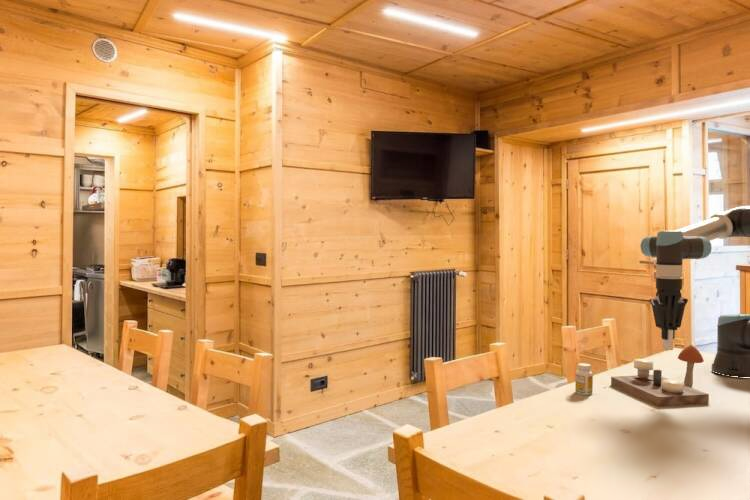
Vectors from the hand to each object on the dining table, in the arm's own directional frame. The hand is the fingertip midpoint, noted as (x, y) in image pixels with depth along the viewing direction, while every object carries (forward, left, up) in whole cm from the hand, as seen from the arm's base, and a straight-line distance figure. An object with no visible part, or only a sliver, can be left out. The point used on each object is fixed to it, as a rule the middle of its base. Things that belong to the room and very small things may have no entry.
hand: (667, 349), depth 175 cm
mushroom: (-17, -9, -16) cm, 25 cm away
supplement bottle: (+24, -9, -16) cm, 31 cm away
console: (0, -4, -16) cm, 17 cm away
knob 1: (0, -11, -12) cm, 17 cm away
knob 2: (0, +3, -16) cm, 16 cm away
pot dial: (0, -4, -13) cm, 14 cm away
